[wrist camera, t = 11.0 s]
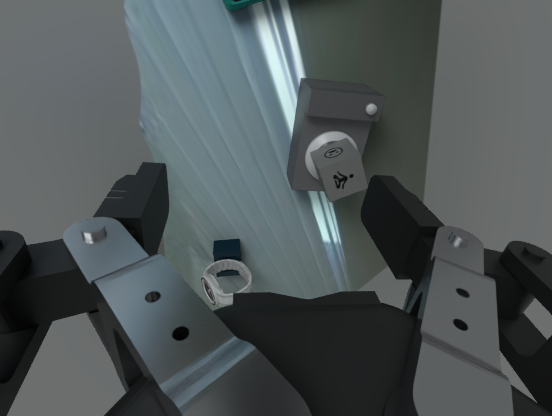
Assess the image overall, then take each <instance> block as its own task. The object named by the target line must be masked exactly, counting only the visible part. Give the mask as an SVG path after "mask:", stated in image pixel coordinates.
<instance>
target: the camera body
mask: <svg viewBox="0 0 552 416" xmlns="http://www.w3.org/2000/svg"><path fill="white" fill-rule="evenodd" d="M385 97H386V96H384V95H382V94H380V93H379V92H377V91H375V90H374V89H372V88H370V87H369V86H367V85H364V84H355V83H345V82H335V81H326V80H316V79H307V78H301V81H300V87H299V94H298V101H297V108H296V114H295V121H294V128H293V134H292V141H291V148H290V154H289V161H288V168H287V177H288V180H289V183H290V186H291V189H292V190H306V191H324V190H323V188H322V186H321V184H320V181H319V178H318V175H317V172H316V169H315V166H314V164H313V161H312V158H311V155H310V152H312V151H314V150H317V149H319V148H322V147H324V146H327V145H329V144H332V143H334V142H337V141H339V140H342V139H344V138H347V139H348V140H349V141H350V142H351V143H352V144H353V146H354V147H355V148H356V149H357V150H358V151H359V153H360V155H361V159H362V156H363V152H364V149H365V145H366V142H367V138H368V134H369V131H370V127H371V124H372V121H376V122H378V121H379V117H380V114H381V110H382V107H383V104H384V100H385Z"/></svg>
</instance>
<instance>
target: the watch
mask: <svg viewBox="0 0 552 416" xmlns="http://www.w3.org/2000/svg"><path fill="white" fill-rule="evenodd" d="M213 255H214V262H215V263H212V264H211V265H210V266H208V267H207V269H206V270H205V271H204V276H202V277H201V282H202V286H203V289H204V291H205V293H206V295H207V297H208V299H209V301H210V302H211V303H212V304H213V305H214V306H216V305H219V306H222V307H224V306H228V305H232V304H233V293H231V294H228V295H227V294H223V293H224V292H223V290H222V289H221V288H220V285H219V283H218V282H217V280H216V279H215V277H214V276H213V275H215V274H217V277H221V276H232V275H242V276H243V278H244V279H245V280H246V282H247V286H246V287H245V288H244V289H242V290H240V291H239V292H235V293H251V290H252V283H253V280H252V274H251V272H250V270H249V269H248V267H247V266H246V265H245V264H244V263H242V262H241V253H240V242H239V239H231V240H218V241H214V248H213Z"/></svg>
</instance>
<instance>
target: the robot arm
mask: <svg viewBox="0 0 552 416" xmlns="http://www.w3.org/2000/svg"><path fill="white" fill-rule="evenodd" d="M168 213H169V194H168V181H167V169H166V165H165V163H148V162H143V163H142V165H141V166H140V168H139V170H138V172H137V173H136V175H126V176H124V177H123V178H121V179H119V180H118V181H116V183H115V184H114V186H113V187H112V189H111V191H110V192H109V193H108V195H107V198H105V199H104V201H103V202H102V204H101V206H100V207H99V209H98V210H97V212H96V213H95V215H94V216H93V218H89V219H84V220H82V221H79V222H77V223H75V224H73V225H71V226H70V227H69V228H68V229H67V230H66V231H65V232H64V235H63V239H59V240H55V241H49V242H43V243H37V244H31V245H26V243H25V240H24V237H23V236H22V235H21V234H19V233H17V232H14V231H0V416H7V414H8V412H9V409H10V407H11V405H12V403H13V401H14V399H15V397H16V395H17V393H18V391H19V389H20V387H21V385H22V383H23V381H24V379H25V377H26V375H27V373H28V371H29V369H30V367H31V364H32V362H33V360H34V358H35V356H36V354H37V352H38V350H39V348H40V346H41V344H42V342H43V340H44V338H45V336H46V334H47V332H48V330H49V327H50V325H51V323H52V321H55V320H58V319H62V318H66V317H70V316H74V315H78V314H81V313H85V312H86V313H87V315H88V317H89V319H90V321H91V323H92V324H93V326H94V328H95V330H96V332H97V334H98V335H99V337H100V339H101V341H102V343H103V345H104V346H105V348H106V350H107V352H108V354H109V356H110V358H111V360H112V362H113V364H114V367H115V369H116V372H117V374H118V377H119V379H120V381H121V383H122V385H123V387H124V389H125V391H126V394H125V395H124V396H123V397H122V398H121V399H120V400H119V401H118V402H117V403H116V404H115V405H114V406H113V407H112V408H111V409H110V410H109V411H108V412H107V413H106V414H105V415H104V416H552V336H551V337H550V338H549V339H548V340H547V339H546V338H545V337H544V336H543V335H542V334H541V332H540V331H539V330H538V329H537V328H536V327H535V326H534V325H533V323H532V322H531V321H530V320H529V319H528V318H527V317H526V316H525V314H524V313H523V312H524V311H525V310H526V308H527V307H528V306H529V305H530V304H531V302H532V301H533V299H535V298H536V299H537V300H538V301H539V302H540V303H541V304H542V305H543V306H544V307H545V308H546V309H547V310H548V311H549V312H550V313H551V315H552V255H551V254H550V253H548V252H547V251H545V250H543V249H541V248H539V247H537V246H535V245H532V244H530V243H526V242H522V241H512V242H510V243H509V244H508V245H507V247H506V248H505V250H504V251H503V252H498V251H494V250H489V249H485V248H484V247H483V244H482V242H481V241H480V240H479V239H478V238H477V237H476V236H474V235H473V234H471V233H469V232H467V231H465V230H463V229H460V228H456V227H452V226H445V225H444V224H443V223H442V222H441V221H440V220H439V219H438V218H437V217H436V216H435V215H434V214H433V213H432V212H431V211H430V210H428V208H427V207H426V206H425V205H424V204H422V202H421V201H420V200H419V199H418V197H417V196H416V195H414V194H413V193H411V192H409V191H408V190H406V189H405V188H404V187H403V186H402V185H401V184H400V183H399V182H398V181H397V179H396V178H395V177H393V176H382V175H374V176H373V177H372V178H371V180H370V182H369V185H368V189H367V192H366V195H365V198H364V201H363V205H362V208H361V220H362V223H363V225H364V226H365V228H366V230H367V231H368V233H369V235H370V236H371V238H372V240H373V241H374V243H375V245H376V246H377V248H378V250H379V251H380V253H381V255H382V256H383V258H384V260H385V261H386V263H387V264H388V266H389V268H390V269H391V271H392V272H393V274H394V276H395V278H396V279H411V280H412V283H411V285H410V287H409V290H408V293H407V296H406V300H405V303H404V307H403V310H401V309H399V308H396V307H394V306H391V305H388V304H384V303H380V301H379V299H378V297H377V295H376V293H375V291H353V292H338V293H334V294H330V295H326V296H322V297H318V298H314V299H302V298H296V297H291V296H286V295H281V294H276V293H270V292H264V293H233V304H232V305H228V306H225V307H222V308H219V309H217V310H214V311H212V310H211V309H210V308H209V306H208V305H207V304H206V303H205V302H204V301H203V300H202V299H201V298H200V297H199V295H198V294H197V293H196V292H195V291H194V290H193V289H192V288H191V287H190V285H189V284H188V283H187V282H186V281H185V280H184V279H183V278H182V277H181V275H180V274H179V273H178V272H177V271H176V270H175V269H174V268H173V267H172V265H171V264H170V263H169V262H168V261H167V260H166V259H165V258H164V257H163V256H162V255H161V254H159V253H157V251H158V248H159V245H160V241H161V238H162V235H163V231H164V228H165V225H166V221H167V218H168ZM499 350H500V351H501V353H502V354H503V355H504V357H505V358H506V360H507V361H508V362H509V364H510V365H511V366H512V368H513V369H514V371H515V372H516V373H517V375H518V376H519V378H520V379H521V380H522V382H523V383H524V384H525V386H526V387H527V389H528V390H529V392H530V393H531V394H532V396H533V397H534V399H535V400H536V401H537V403H536V402H535V401H533V400H532V399H531V398H529V397H528V396H526V395H525V394H523V393H522V392H520V391H519V390H518V389H516V388H515V387H514V386H512V385H511V384H510V381H509V379H508V378H507V376H505V375H503V373H502V372H501V367H500V353H499Z"/></svg>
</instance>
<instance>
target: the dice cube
mask: <svg viewBox="0 0 552 416" xmlns="http://www.w3.org/2000/svg"><path fill="white" fill-rule="evenodd" d="M310 155H311V158H312V161H313V164H314V166H315V169H316V172H317V175H318V178H319V181H320V184H321V186H322V188H323V190H324V192H325V194H326V196H327V198H328V200H329V202H332V201H335V200H338V199H340V198H343V197H346V196H348V195H351V194H353V193H356V192H359V191H361V190H364V189H367V188H368V185H367V181H366V176H365V172H364V168H363V164H362V160H361V155H360V153H359V151H358V150H357V149H356V148H355V147H354V146H353V144H352V143H351V142H350V141H349V140H348V139H347V138H344V139H342V140H339V141H337V142H334V143H332V144H329V145H327V146H324V147H322V148H319V149H317V150H314V151H312V152H310Z"/></svg>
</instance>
